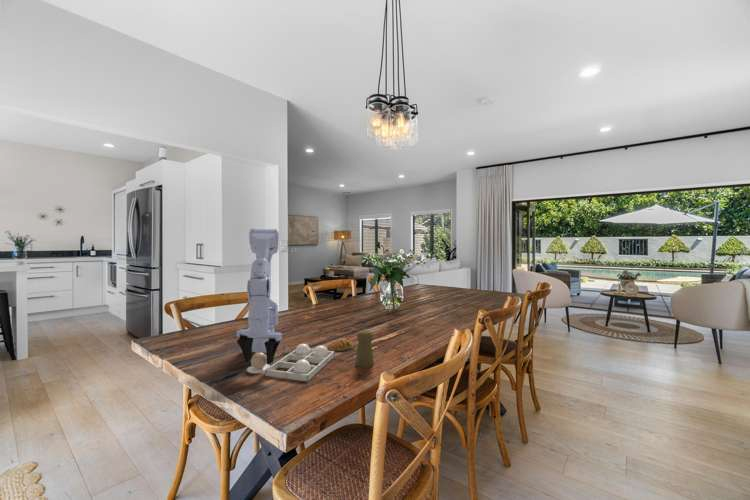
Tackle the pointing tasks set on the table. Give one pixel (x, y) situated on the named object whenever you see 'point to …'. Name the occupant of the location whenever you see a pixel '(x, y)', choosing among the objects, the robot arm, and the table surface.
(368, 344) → the olive green pepper mill
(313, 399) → the table surface
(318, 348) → the white egg
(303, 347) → the white egg
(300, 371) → the white egg
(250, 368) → the saucer
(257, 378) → the table surface
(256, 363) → the brown egg
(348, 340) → the pastry
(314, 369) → the egg carton
